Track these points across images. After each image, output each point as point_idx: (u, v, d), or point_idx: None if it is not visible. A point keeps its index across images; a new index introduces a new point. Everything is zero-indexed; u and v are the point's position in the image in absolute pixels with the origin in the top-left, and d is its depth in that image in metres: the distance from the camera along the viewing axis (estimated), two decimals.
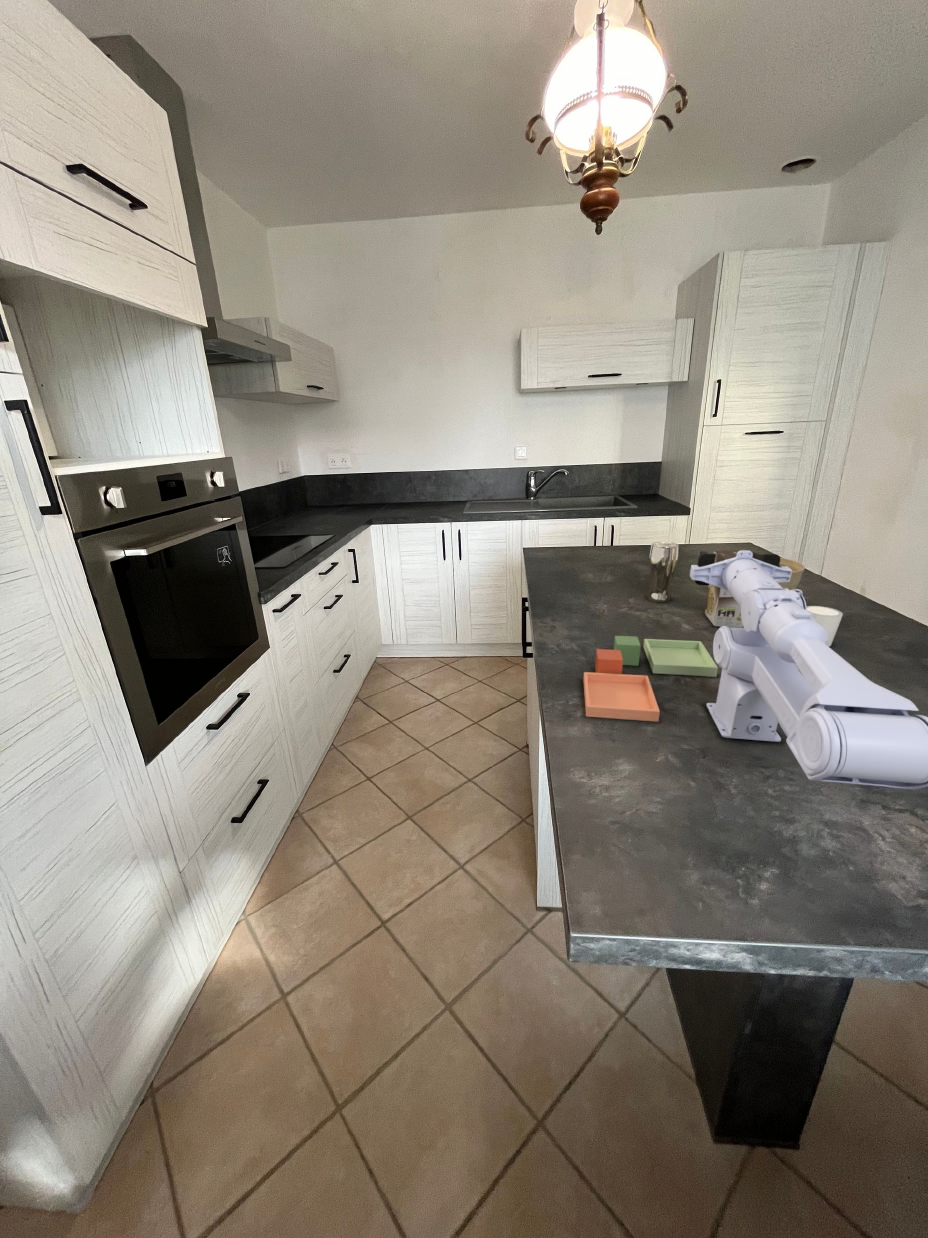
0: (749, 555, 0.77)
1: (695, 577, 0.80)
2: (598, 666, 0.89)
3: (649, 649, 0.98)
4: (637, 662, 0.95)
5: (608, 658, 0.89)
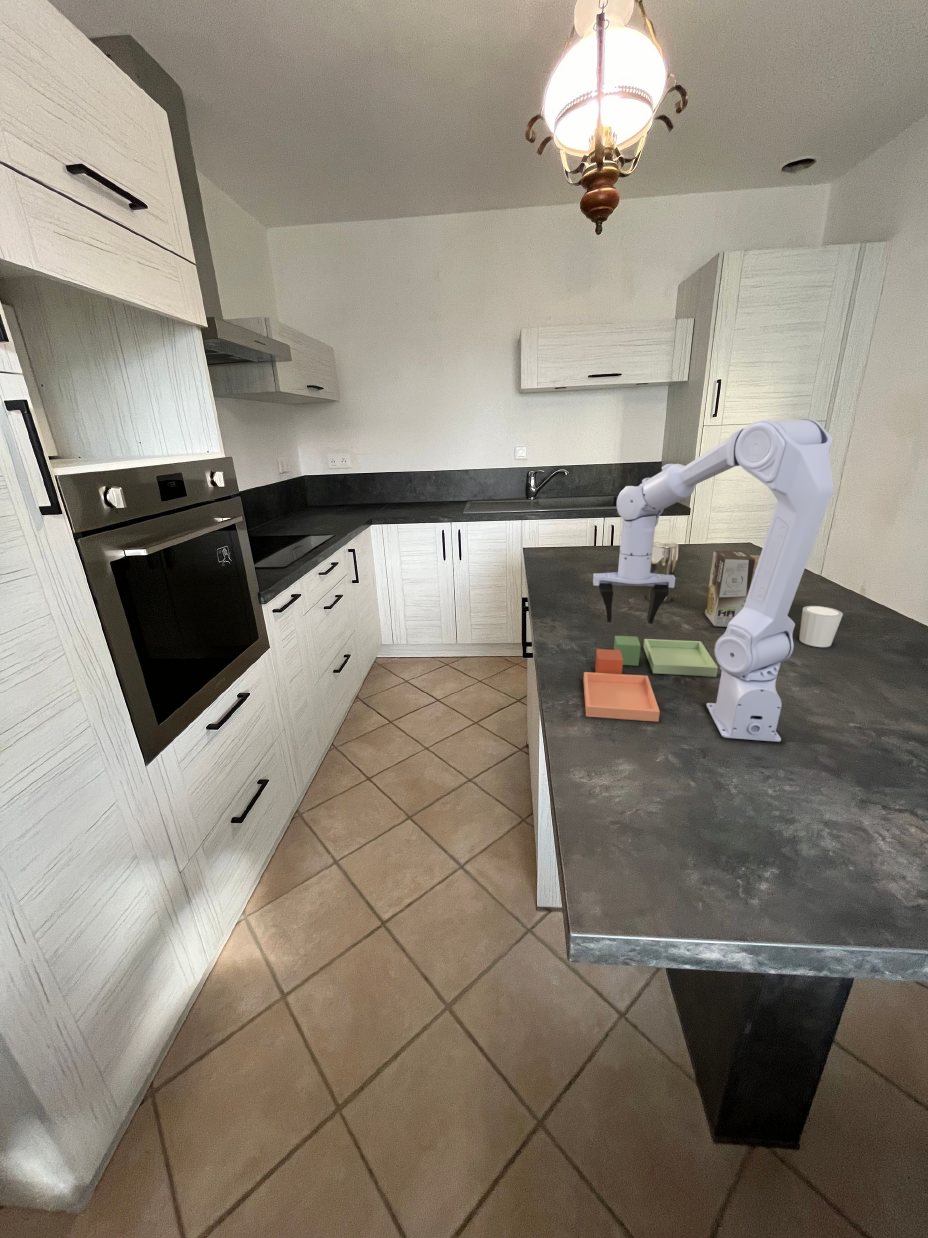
0: None
1: None
2: (598, 666, 0.89)
3: (649, 649, 0.98)
4: (637, 662, 0.95)
5: (608, 658, 0.89)
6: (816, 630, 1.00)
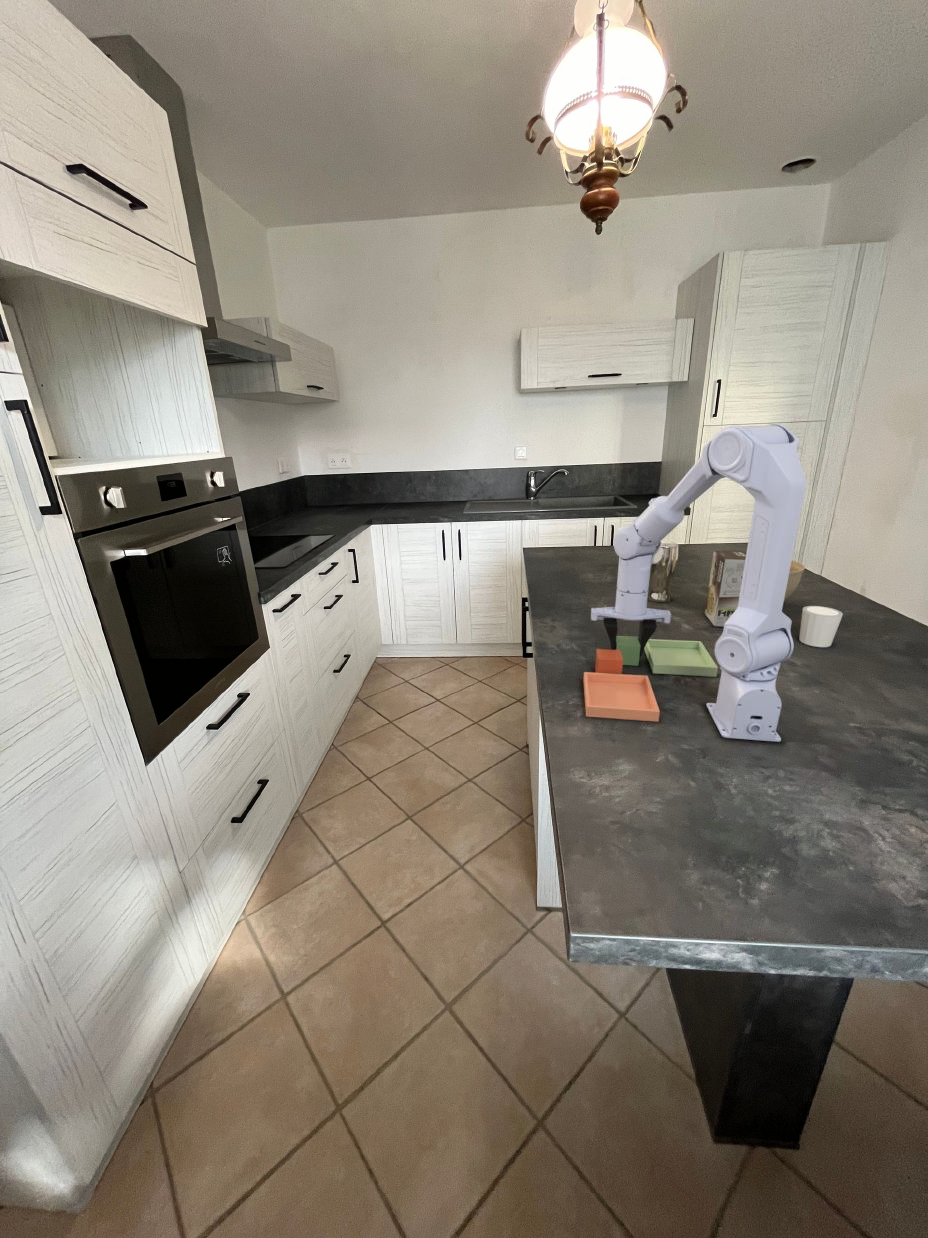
0: None
1: None
2: (598, 666, 0.89)
3: (649, 649, 0.98)
4: (637, 662, 0.95)
5: (608, 658, 0.89)
6: (816, 630, 1.00)
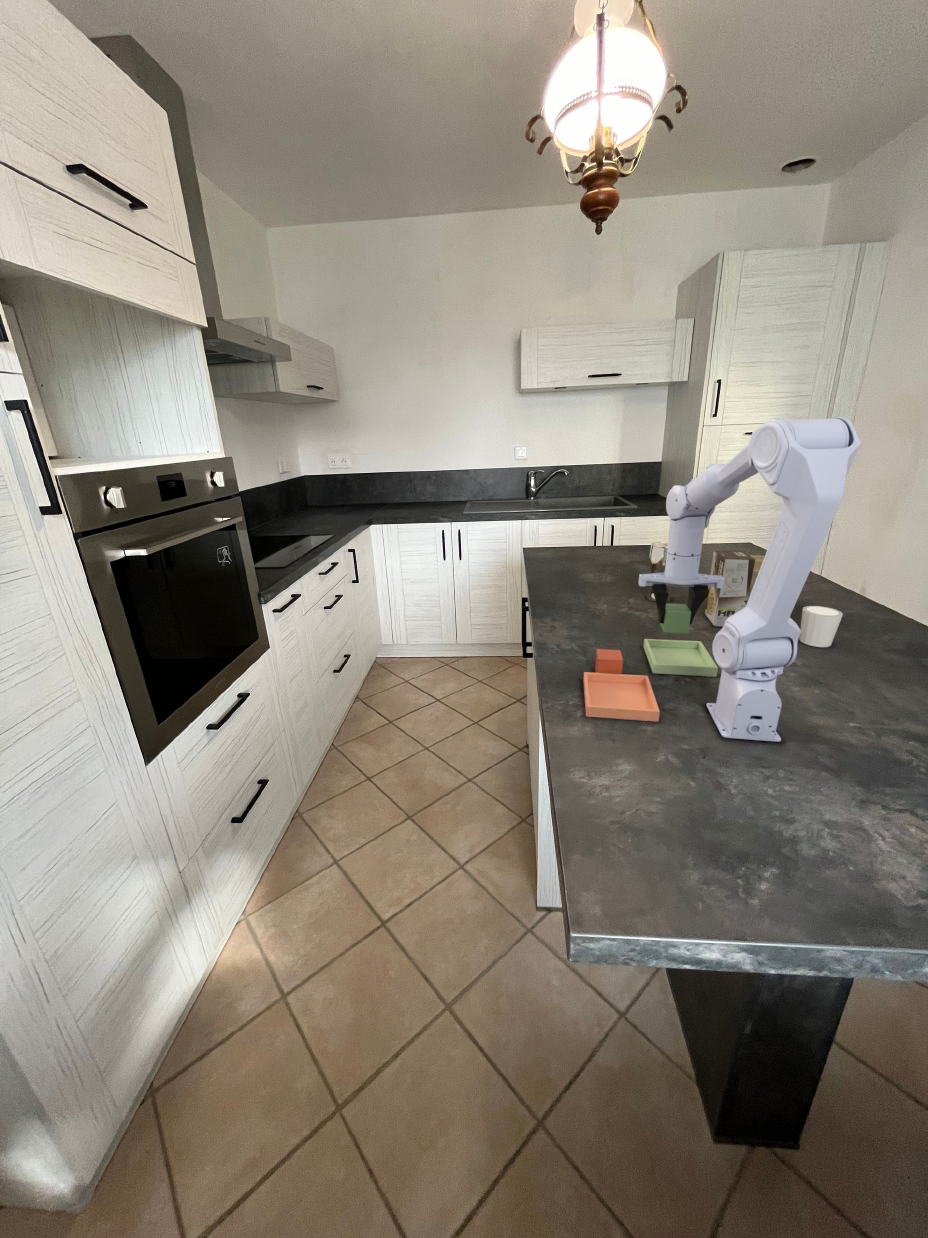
0: None
1: None
2: (598, 666, 0.89)
3: (649, 649, 0.98)
4: (687, 629, 0.92)
5: (608, 658, 0.89)
6: (816, 630, 1.00)
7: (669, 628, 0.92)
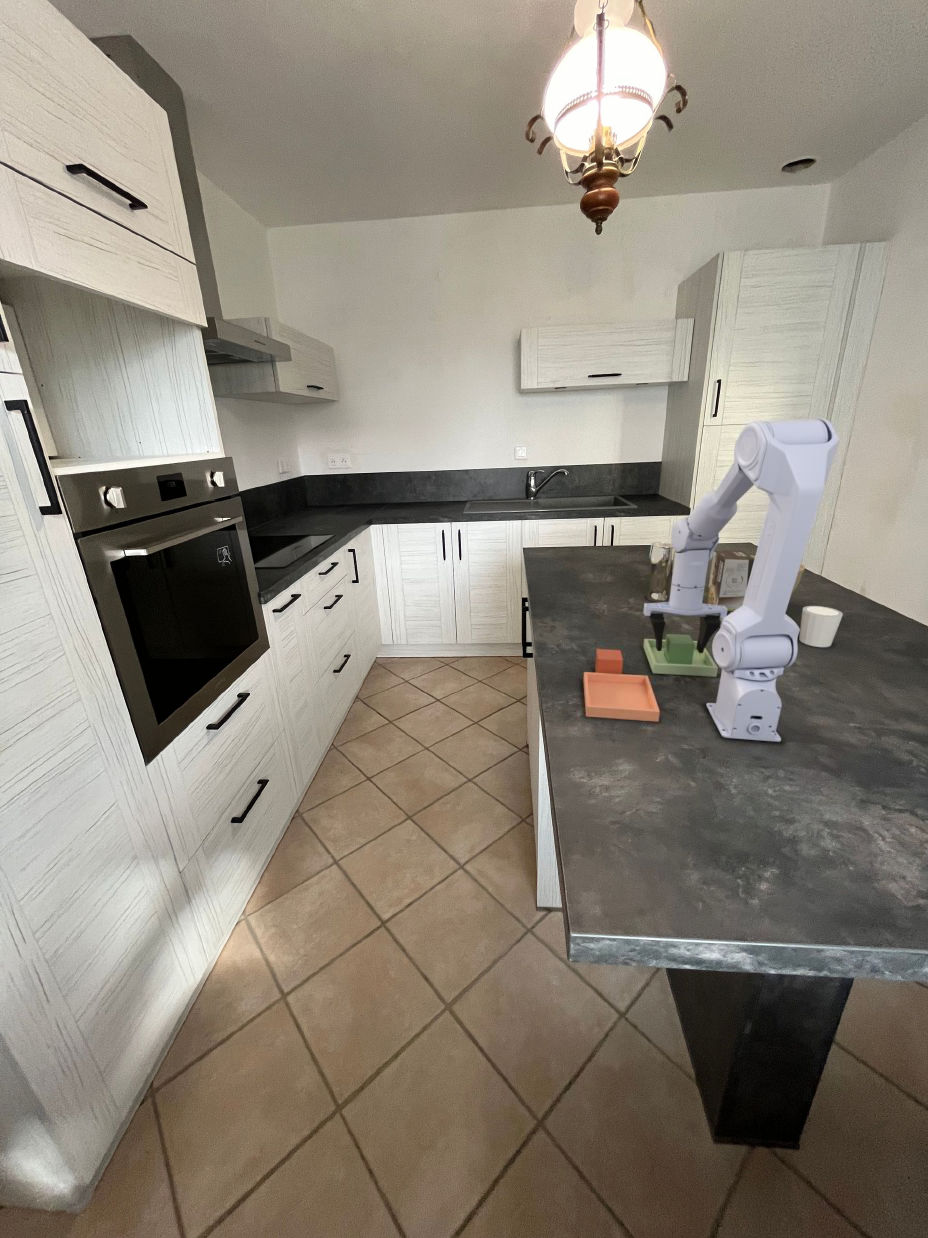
0: None
1: None
2: (598, 666, 0.89)
3: (649, 649, 0.98)
4: (690, 661, 0.94)
5: (608, 658, 0.89)
6: (816, 630, 1.00)
7: (673, 659, 0.95)
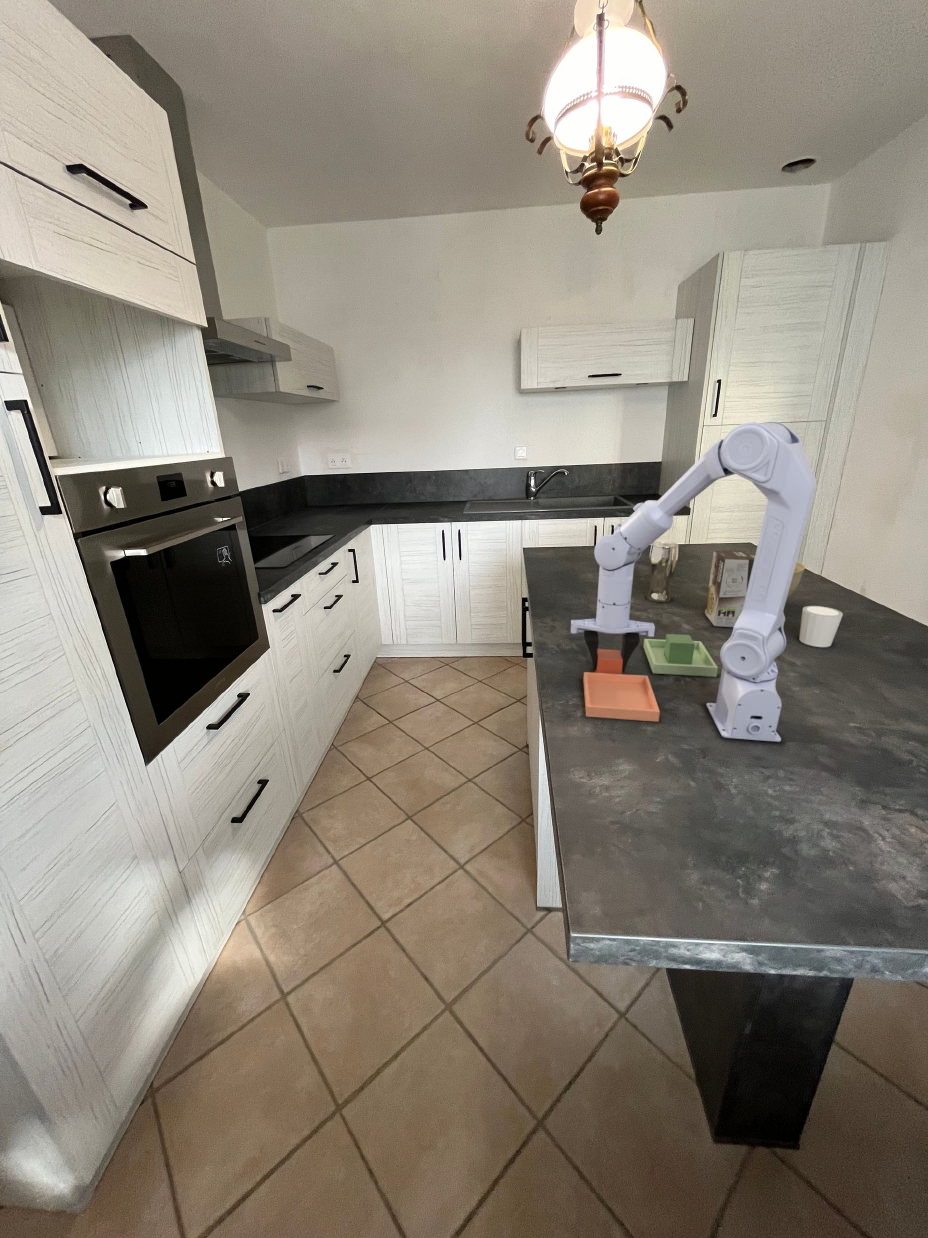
0: None
1: None
2: (598, 666, 0.89)
3: (649, 649, 0.98)
4: (690, 661, 0.94)
5: (608, 658, 0.89)
6: (816, 630, 1.00)
7: (673, 659, 0.95)
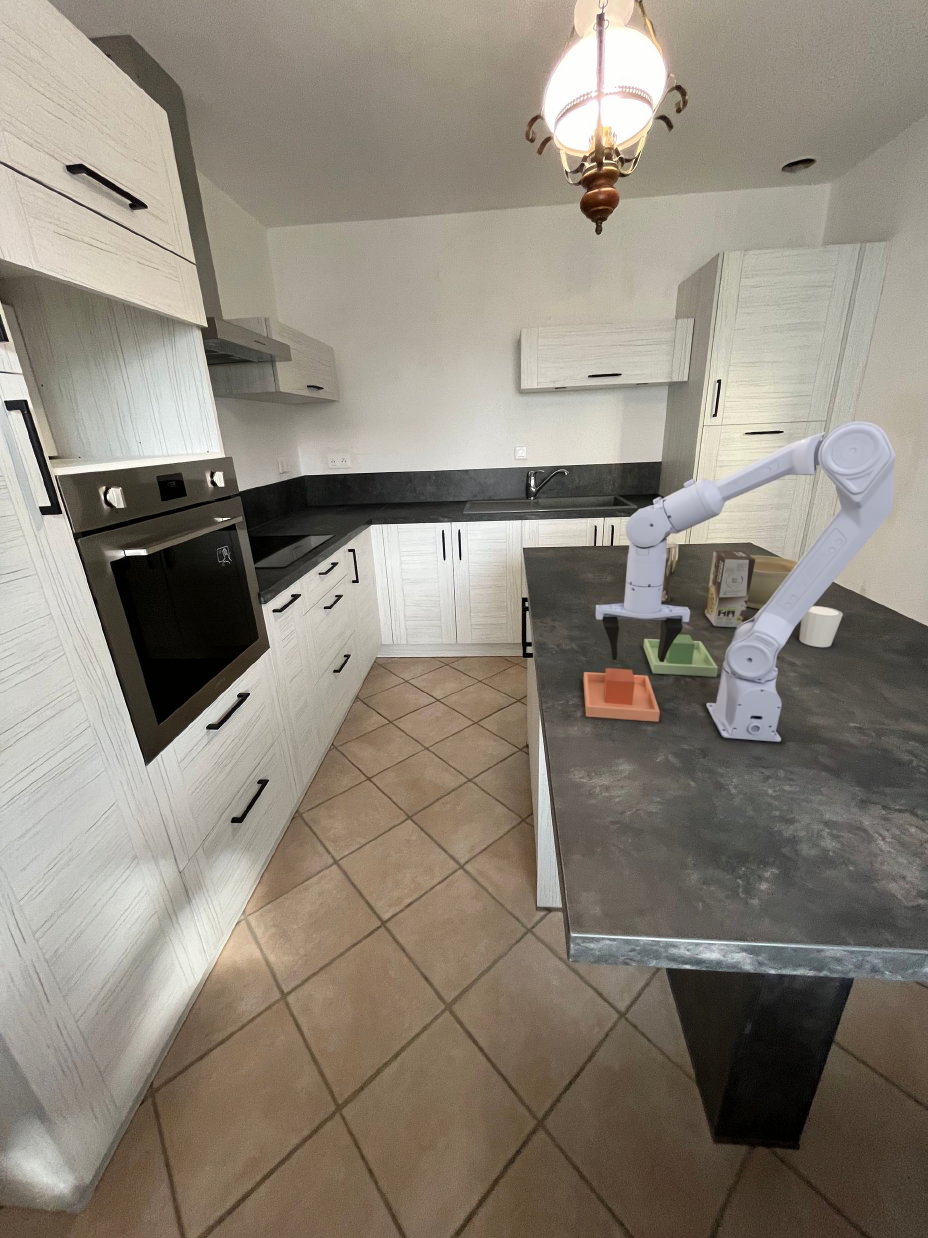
0: None
1: None
2: (607, 688, 0.81)
3: (649, 649, 0.98)
4: (690, 661, 0.94)
5: (618, 680, 0.80)
6: (816, 630, 1.00)
7: (673, 659, 0.95)
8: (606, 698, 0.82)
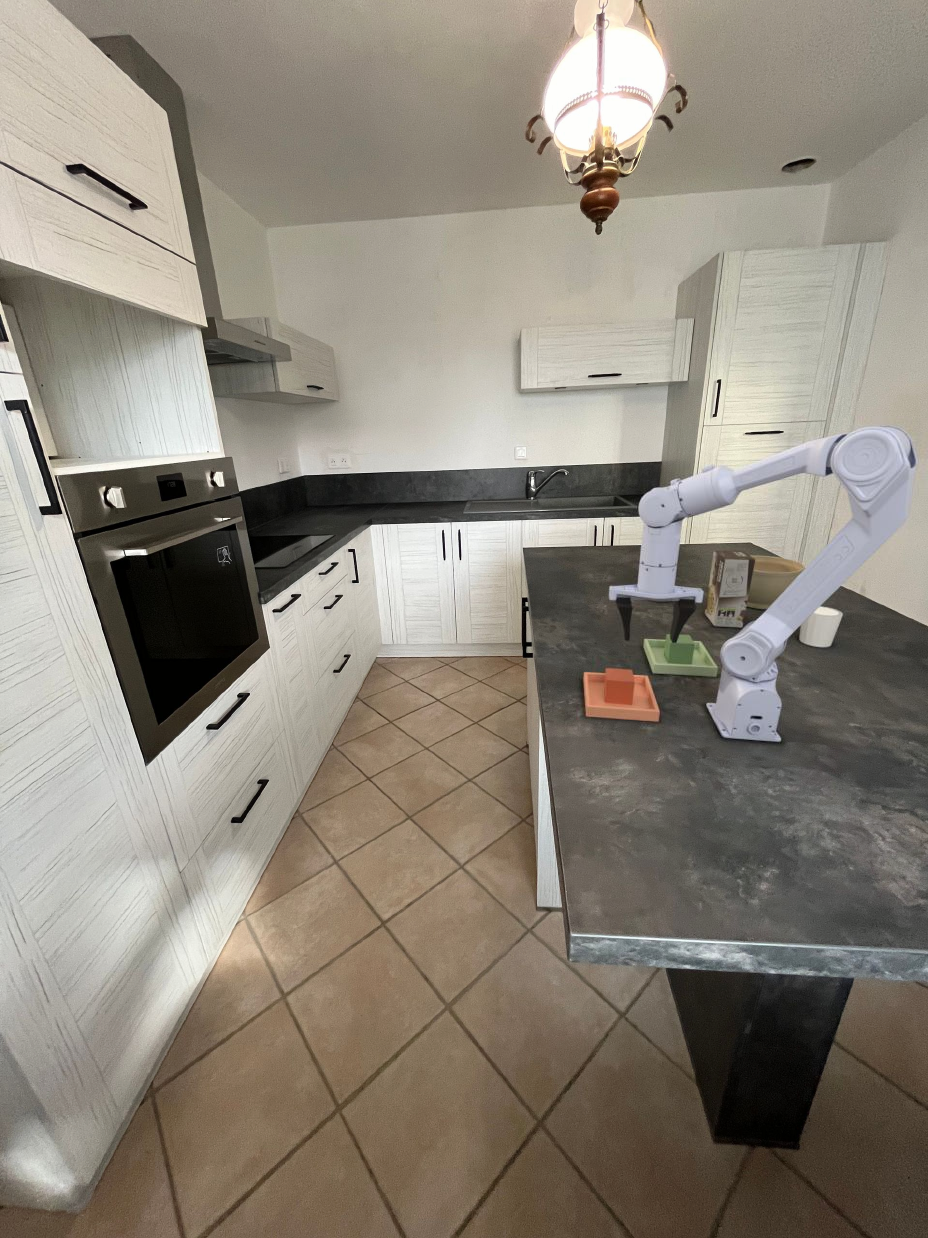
0: None
1: None
2: (607, 688, 0.81)
3: (649, 649, 0.98)
4: (690, 661, 0.94)
5: (618, 680, 0.80)
6: (816, 630, 1.00)
7: (673, 659, 0.95)
8: (606, 698, 0.82)
